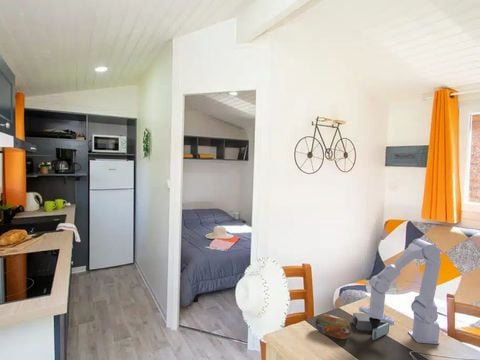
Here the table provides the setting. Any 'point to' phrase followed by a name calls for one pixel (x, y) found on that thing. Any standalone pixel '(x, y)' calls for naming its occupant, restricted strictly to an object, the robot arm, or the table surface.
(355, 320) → the camcorder
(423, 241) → the robot arm
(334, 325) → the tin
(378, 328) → the side door
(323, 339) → the table surface
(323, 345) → the table surface
